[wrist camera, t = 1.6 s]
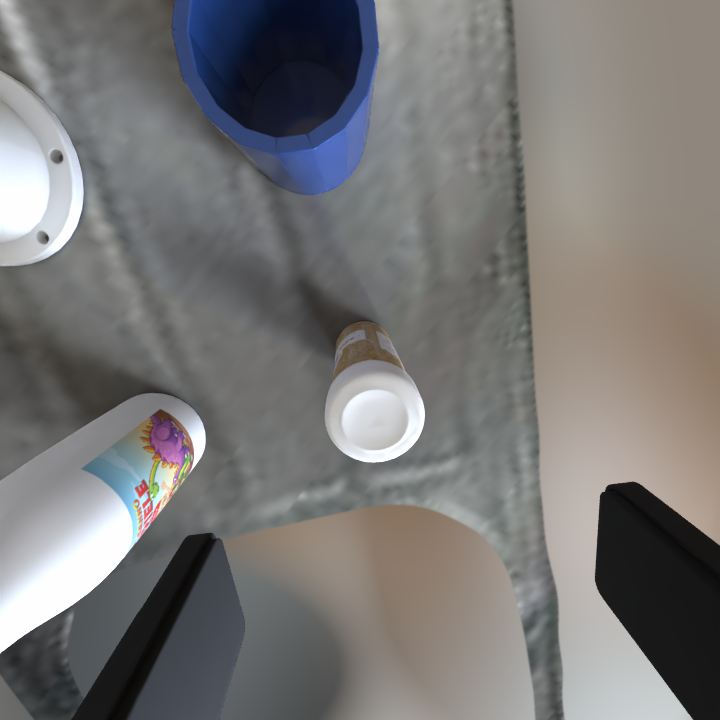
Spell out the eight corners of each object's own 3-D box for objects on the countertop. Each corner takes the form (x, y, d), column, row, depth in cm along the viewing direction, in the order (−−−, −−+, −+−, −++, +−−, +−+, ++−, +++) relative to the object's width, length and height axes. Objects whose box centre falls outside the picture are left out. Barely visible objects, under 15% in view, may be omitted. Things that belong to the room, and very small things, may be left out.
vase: (258, 202, 25) (201, 165, 16) (231, 64, 23) (145, -78, 13) (373, 186, 25) (387, 139, 15) (358, 47, 23) (364, -110, 13)
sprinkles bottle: (333, 322, 28) (319, 374, 15) (391, 318, 28) (426, 368, 15) (337, 376, 29) (327, 469, 16) (392, 373, 29) (427, 463, 16)
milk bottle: (116, 465, 31) (-279, 810, 11) (115, 383, 29) (-369, 634, 9) (206, 477, 31) (-27, 824, 12) (211, 397, 29) (-60, 662, 10)
